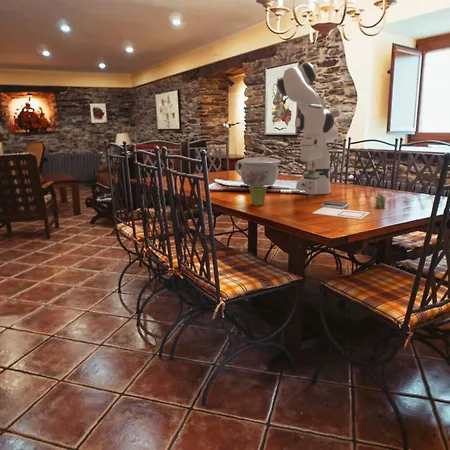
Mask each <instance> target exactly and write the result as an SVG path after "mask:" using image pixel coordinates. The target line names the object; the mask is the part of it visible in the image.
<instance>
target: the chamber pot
mask: <svg viewBox="0 0 450 450" xmlns="http://www.w3.org/2000/svg"><path fill="white" fill-rule="evenodd" d="M281 162H282V161H281V160H280V159H277V158H273V157H265V156H264V155H262V154H256V155H254V157H249V158H248V157H247V158H243V159H239V160H237V161H236V162H235V166H234V168H235V171H236V173H237V174H238V175H239V176H240V179H241V181H242V183H243V184H244V185H245V184H247V185H250V186H264V185H273V184H274V185H275V183H276V182H277V180H278V176H279V166H278V164H279V163H281ZM239 164H240V165H241V166H240V169H239ZM274 185H273V186H274Z"/></svg>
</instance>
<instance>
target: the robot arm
mask: <svg viewBox="0 0 450 450" xmlns="http://www.w3.org/2000/svg"><path fill="white" fill-rule="evenodd" d="M316 78H317V72H316V69H315V67H314V65H313V64H311V63H310V62H303V63H302V65H301V64H300V66H297V67H295V66H293V67H288V68H287V69H286V70H285V71H284V72H283V76H281V77H279V79H278V80H277V82H276V87H277V90H278V92H279V94H281V96H283V97H288V99H289V100H290V101H292V102H293V103H297V106H298V109H299V110H300V113H298V114H297V116H296V117H295V119H294V120H295V123H294V124H295V126H294V127H295V129H296V130H297V131H298V132H301V133H303V137H302V139H301V140H299V141H300V142H299V145H300V161H301V162H304V163H306V164H307V169H305V172H308V170H312V161H313V160H315V159H317V160H316V167H315V172H320V173H319V179H316V180H313V179H304V175H303V176H302V177H301V178H300V179H298V180H297V182H296V184H295V188H296V189H298V190H304V191H305V192H300V191H293V190H295V189H294V188H293V190H291V192H293V193H299V194H306V195H326V194H327V195H328V194H331V193H332V189H331V184H330V181H331V180H330V178H331V168H330V167H331V153H330V151H329V150H328V147H327V146H328V145H327V144H330V143H331V142H334V141H335V140H336V139H337V138H338V136H339V129H338V127H337V126H336V125H335V118H334V115H333V114H332V113H331V112H330V110H329V109H328V108H327V107H326V105H325V104H324V101H323V99H321V97H320V95H319V94H318V93H317V91H316V90H314V89H313V87H312V86H314V82H315V81H316ZM311 85H312V86H311Z"/></svg>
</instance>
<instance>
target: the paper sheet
mask: <svg viewBox="0 0 450 450" xmlns="http://www.w3.org/2000/svg"><path fill="white" fill-rule="evenodd" d="M311 213H312V214H313V215H319V216H329V217H336V218H344V219H353V220H360V221H362V220H363V219H365V218H366V217H367V216H368V215H370V214H371V212H368V211H361V210H352V209H336V208H327V207H320V208H318V209H317V210H315V211H313V212H311Z"/></svg>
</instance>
